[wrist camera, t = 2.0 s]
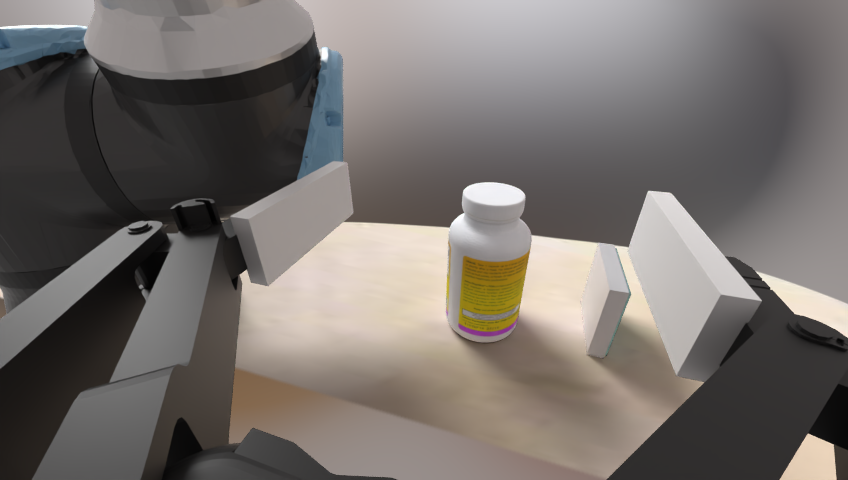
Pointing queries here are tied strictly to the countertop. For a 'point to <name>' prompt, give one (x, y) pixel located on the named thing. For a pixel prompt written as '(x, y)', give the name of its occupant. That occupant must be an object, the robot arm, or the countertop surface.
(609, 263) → the tile
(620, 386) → the countertop surface
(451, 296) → the supplement bottle
